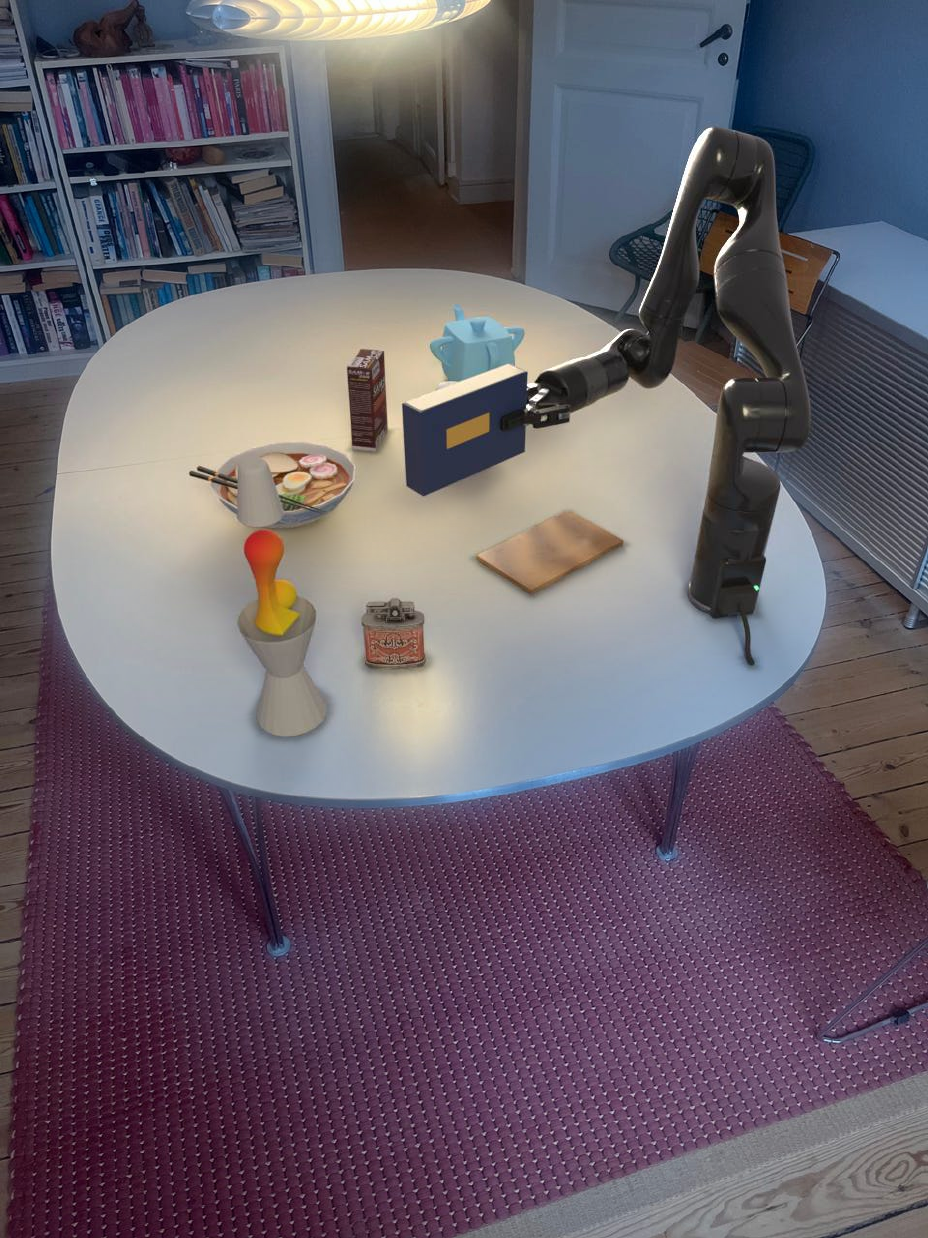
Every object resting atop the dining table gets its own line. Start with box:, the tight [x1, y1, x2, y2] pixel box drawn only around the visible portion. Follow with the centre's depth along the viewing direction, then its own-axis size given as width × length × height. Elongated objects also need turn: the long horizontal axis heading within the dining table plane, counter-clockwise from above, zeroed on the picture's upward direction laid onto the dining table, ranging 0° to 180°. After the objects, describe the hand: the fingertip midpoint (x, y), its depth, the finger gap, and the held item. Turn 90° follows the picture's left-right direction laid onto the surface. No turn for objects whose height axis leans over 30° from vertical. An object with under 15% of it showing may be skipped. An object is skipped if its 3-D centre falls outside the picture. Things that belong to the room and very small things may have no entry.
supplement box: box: [346, 348, 389, 453], centre depth 171 cm, size 9×5×16 cm, turn 168°
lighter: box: [360, 597, 427, 671], centre depth 123 cm, size 8×3×10 cm, turn 92°
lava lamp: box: [236, 457, 327, 738], centre depth 108 cm, size 9×9×35 cm
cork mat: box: [476, 509, 624, 595], centre depth 146 cm, size 20×12×1 cm, turn 131°
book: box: [401, 364, 529, 497], centre depth 137 cm, size 20×4×13 cm, turn 131°
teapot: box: [429, 304, 526, 382], centre depth 191 cm, size 18×16×14 cm
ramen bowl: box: [188, 441, 357, 529], centre depth 153 cm, size 25×23×8 cm
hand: (491, 418), depth 140 cm, fingers closed on book, 4 cm apart
